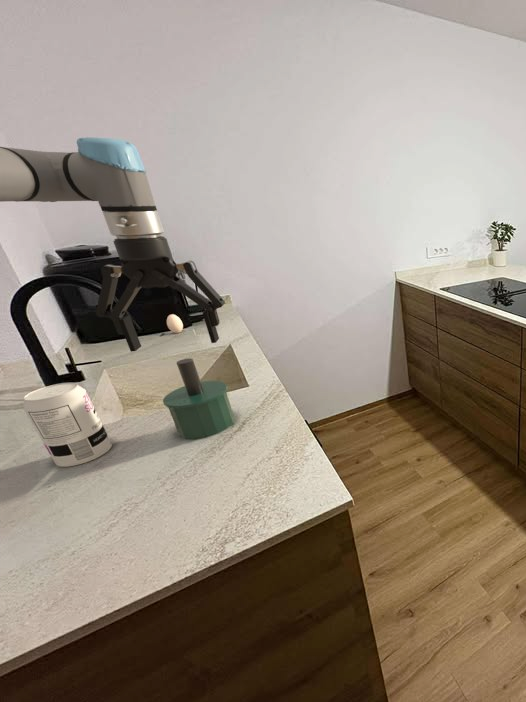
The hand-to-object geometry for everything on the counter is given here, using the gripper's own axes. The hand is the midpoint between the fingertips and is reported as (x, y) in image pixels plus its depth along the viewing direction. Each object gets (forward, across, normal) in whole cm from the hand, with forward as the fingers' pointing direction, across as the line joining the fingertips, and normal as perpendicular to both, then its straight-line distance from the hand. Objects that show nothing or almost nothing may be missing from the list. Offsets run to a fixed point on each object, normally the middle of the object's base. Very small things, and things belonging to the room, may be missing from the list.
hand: (177, 345), depth 77 cm
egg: (+21, -30, +82) cm, 89 cm away
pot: (+20, +1, 0) cm, 20 cm away
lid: (+12, 0, 0) cm, 12 cm away
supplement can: (+21, -20, -3) cm, 29 cm away
